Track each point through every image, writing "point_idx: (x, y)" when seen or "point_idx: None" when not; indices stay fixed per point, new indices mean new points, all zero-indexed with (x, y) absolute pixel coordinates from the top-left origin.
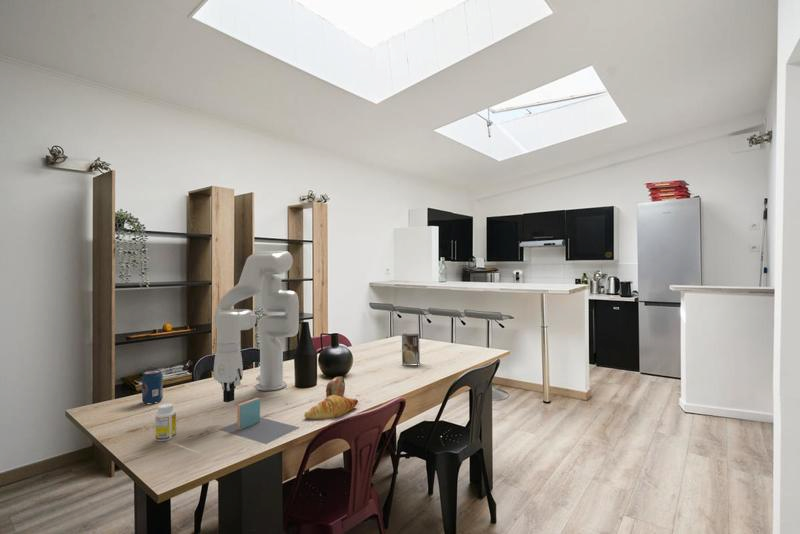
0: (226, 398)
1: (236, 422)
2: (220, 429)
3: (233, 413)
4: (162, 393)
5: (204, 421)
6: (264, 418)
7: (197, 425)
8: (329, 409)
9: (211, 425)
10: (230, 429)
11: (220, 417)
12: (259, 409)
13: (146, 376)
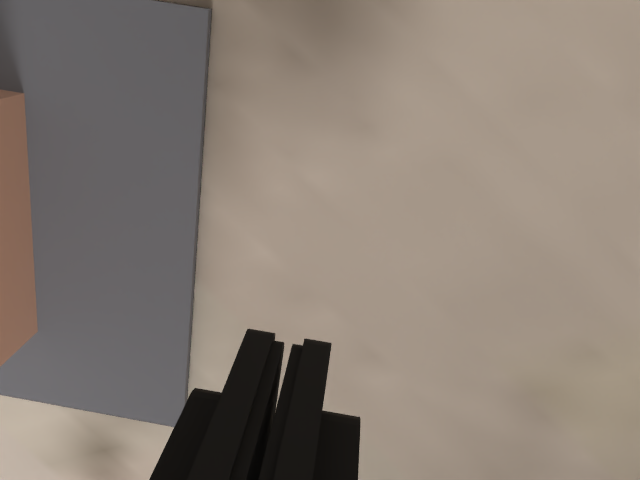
0: (231, 370)
1: (194, 241)
2: (187, 12)
3: (443, 432)
4: None
5: (603, 166)
6: (33, 397)
7: (599, 32)
8: None
9: (419, 97)
10: (86, 60)
11: (499, 315)
12: None
13: None
